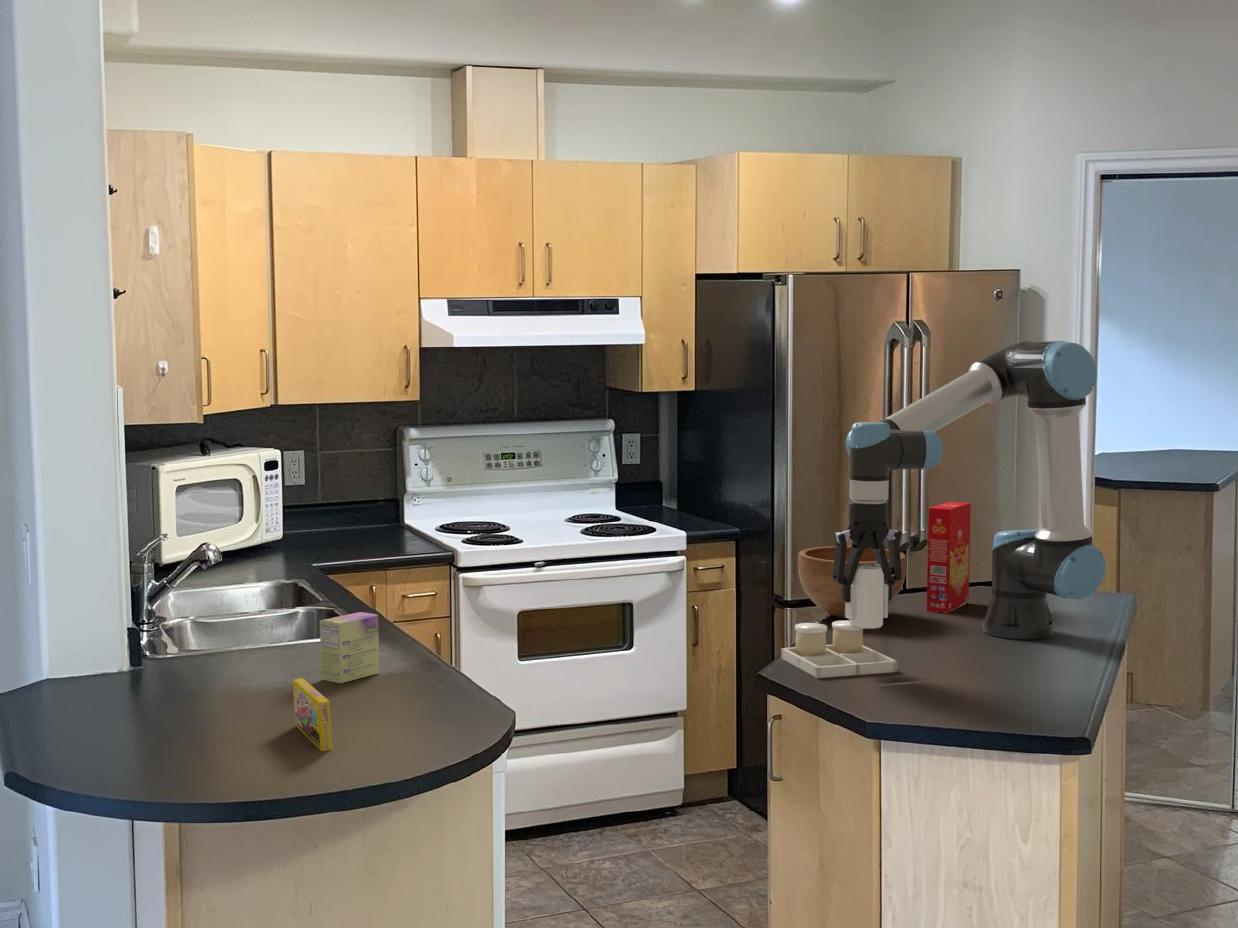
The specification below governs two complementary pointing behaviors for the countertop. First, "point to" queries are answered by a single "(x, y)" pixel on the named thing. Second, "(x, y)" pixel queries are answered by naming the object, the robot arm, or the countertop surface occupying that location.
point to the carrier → (841, 662)
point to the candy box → (312, 714)
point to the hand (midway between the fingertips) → (866, 617)
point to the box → (349, 647)
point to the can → (868, 596)
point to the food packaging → (948, 556)
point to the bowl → (819, 576)
